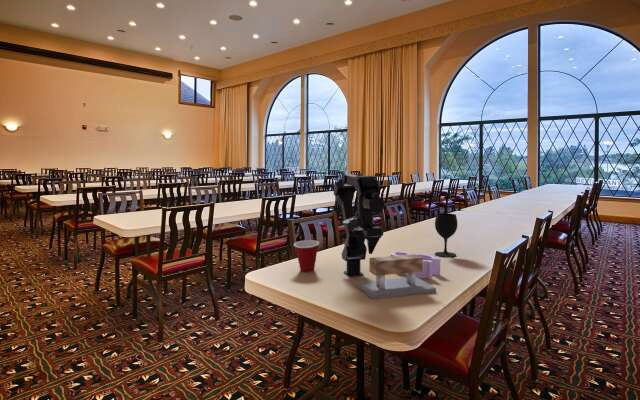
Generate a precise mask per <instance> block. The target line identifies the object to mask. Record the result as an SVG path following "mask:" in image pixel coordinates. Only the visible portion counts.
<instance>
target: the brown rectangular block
mask: <svg viewBox="0 0 640 400" xmlns="http://www.w3.org/2000/svg"><path fill="white" fill-rule="evenodd" d="M415 254H416V253H412V254H411V255H398V256H391V255H389V256H375V257H374V256H373V257H369V265H368V267H369V271H368V272H370V273H371V274H372V275H374V276H375V277H376V276H379V275H385V276H386V275H388V276H389V275H397V274H398V275H400V274H404V273H411V272H421V271H422V257H420V256H418V255H415Z"/></svg>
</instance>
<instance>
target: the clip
mask: <svg viewBox="0 0 640 400" xmlns="http://www.w3.org/2000/svg"><path fill="white" fill-rule="evenodd" d="M411 254H413V253H411V252H407V251H395V253H394V252H391V253H390V256H398V255H411ZM414 254H415V255H418V256H420V257H422V271H421V272H416V277H417V278H419V279H428V280H433V276H435V275H440V276H441V257H438V258H437V257H435V256H434V255H431V254H426V253H414ZM403 274H404V275H405V276H406V273H403Z"/></svg>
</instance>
